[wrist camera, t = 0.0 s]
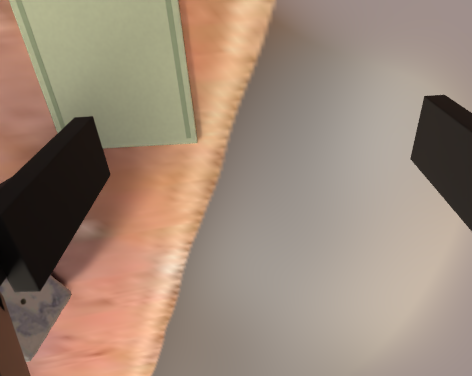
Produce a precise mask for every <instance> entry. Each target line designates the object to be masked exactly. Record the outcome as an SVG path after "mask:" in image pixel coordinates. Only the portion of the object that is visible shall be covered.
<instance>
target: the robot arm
mask: <svg viewBox="0 0 472 376" xmlns="http://www.w3.org/2000/svg"><path fill="white" fill-rule="evenodd" d="M411 160H412V161H413V162H414V164H415V165H416V166H417V167H418V168H419V170H420V171H421V172H422V173H423V174H424V175H425V177H426V178H427V179H428V180H429V181H430V183H431V184H432V185H433V186H434V187H435V188H436V189H437V191H438V192H439V193H440V194H441V196H442V197H444V199H445V200H446V201H447V203H448V204H449V205H450V206H451V207H452V209H453V210H454V211H455V212H456V213H457V214H458V215H459V217H460V218H461V219H462V220H463V221H464V223H465V224H466V225H467V226H468V227H469V229H470V230H471V231H472V113H471V112H469V111H468V110H466V109H465V108H463V107H462V106H460V105H459V104H457V103H456V102H454V101H453V100H451V99H450V98H449V97H447V96H445V95H435V96H424V101H423V105H422V110H421V114H420V118H419V123H418V127H417V132H416V136H415V141H414V145H413V150H412V154H411ZM109 176H110V171H109V168H108V165H107V161H106V158H105V155H104V151H103V148H102V145H101V141H100V138H99V135H98V131H97V128H96V124H95V121H94V118H93V116H89V117H74V118H73V119H72V120H71V121H70V122H69V123H68V124H67V125H66V126H65V127H64V128H63V129H62V130H61V131H60V132H59V133H58V134H57V135H56V136H55V137H54V138H52V139H51V140H50V141H49V142H48V143H47V144H46V145H45V146H44V147H43V148H42V149H41V150H40V151H39V152H38V153H37V154H36V155H35V156H34V157H33V158H32V159H31V160H30V161H28V162H27V163H26V164H25V165H24V166H23V167H22V168H21V169H20V170H19V171H18V172H17V173H16V174H15V175H14V176H13V177H11V178H9V179H8V180H6V181H4V182H2V183H1V184H0V286H1V284H2V283H3V282H4V280H5V279H6V278H7V280H8V282H9V284H10V285H11V287H12V289H13V290H14V292H40V291H41V290H42V288H43V286H44V285H45V283H46V281H47V280H48V278H49V276H50V275H51V273H52V271H53V270H54V268H55V266H56V265H57V263H58V261H59V260H60V258H61V256H62V255H63V253H64V251H65V250H66V248H67V246H68V245H69V243H70V241H71V240H72V238H73V236H74V235H75V233H76V231H77V230H78V228H79V226H80V225H81V223H82V221H83V220H84V218H85V216H86V215H87V213H88V211H89V210H90V208H91V206H92V205H93V203H94V201H95V200H96V198H97V196H98V195H99V193H100V191H101V190H102V188H103V186H104V185H105V183H106V181H107V180H108V178H109ZM0 376H30V373H29V370H28V367H27V364H26V361H25V358H24V355H23V352H22V349H21V347H20V344H19V341H18V338H17V335H16V332H15V329H14V326H13V323H12V320H11V317H10V314H9V311H8V308H7V306H6V303H5V300H4V297H3V295H2V294H1V292H0Z"/></svg>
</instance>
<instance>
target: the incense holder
mask: <svg viewBox="0 0 472 376" xmlns="http://www.w3.org/2000/svg"><path fill="white" fill-rule="evenodd" d="M0 292H1V294H2V295H3V297H4V300H5V303H6V306H7V308H8V311H9V314H10V317H11V320H12V323H13V326H14V329H15V332H16V335H17V338H18V341H19V344H20V347H21V349H22V352H23V355H24V358H25V361H26V362H28V361H31V359H32V358H33V357H34V355H35V354H36V353H37V351H38V349H39V347H40V346H41V344H42V343H43V341H44V340H45V338H46V337H47V335H48V333H49V331H50V329H51V327H52V326H53V325H54V323H55V322H56V320H57V318H58V317H59V315H60V313H61V311H62V309H63V308H64V307H65V306H66V304H67V302H68V301H69V299H70V296H71V295H72V294H71V292H70V290H69V289H67V288H66V287H65V286H64V285H62V284H61V283H60V282H59V281H57V280H56V279H54V278H53V277H52V276H51V275H50V276H49V278H48V280H47V281H46V283H45V285H44V286H43V288H42V290H41V291H40V292H14V290H13V289H12V287H11V285H10V284H9V282H8V280H7V278H6V279H5V280H4V282H3V283H2V284H1V286H0Z"/></svg>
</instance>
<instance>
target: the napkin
mask: <svg viewBox="0 0 472 376" xmlns="http://www.w3.org/2000/svg"><path fill="white" fill-rule="evenodd" d="M9 2H10V4H11V7H12V10H13V12H14V15H15V18H16V21H17V23H18V26H19V29H20V32H21V34H22V37H23V40H24V43H25V45H26V48H27V51H28V54H29V56H30V59H31V62H32V65H33V67H34V70H35V73H36V76H37V78H38V81H39V84H40V87H41V89H42V92H43V95H44V98H45V100H46V103H47V106H48V108H49V111H50V114H51V117H52V119H53V122H54V125H55V128H56V130H57V133H59V132H60V131H61V130H62V129H63V128H64V127H65V126H66V125H67V124H68V123H69V122H70V121H71V120H72V119H73V118H74V117H89V116H93V118H94V121H95V124H96V128H97V131H98V135H99V138H100V141H101V145H102V148H120V147H138V146H155V145H173V144H191V143H197V142H198V141H197V133H196V126H195V119H194V112H193V104H192V97H191V90H190V82H189V75H188V68H187V60H186V53H185V46H184V39H183V31H182V24H181V17H180V9H179V2H178V0H9Z"/></svg>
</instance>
